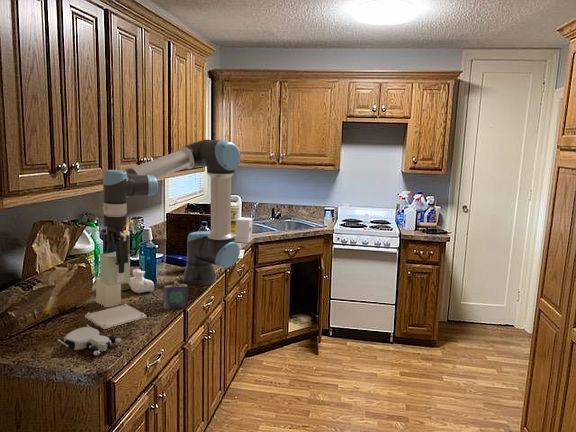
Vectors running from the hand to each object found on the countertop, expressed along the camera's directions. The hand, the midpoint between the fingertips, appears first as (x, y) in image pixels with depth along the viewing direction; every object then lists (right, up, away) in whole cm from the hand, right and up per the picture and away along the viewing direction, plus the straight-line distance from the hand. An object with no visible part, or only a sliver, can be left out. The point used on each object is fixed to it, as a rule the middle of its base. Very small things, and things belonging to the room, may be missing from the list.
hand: (115, 278), depth 162 cm
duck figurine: (-1, -10, +31) cm, 32 cm away
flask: (+18, -14, +16) cm, 27 cm away
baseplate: (-1, -15, +3) cm, 15 cm away
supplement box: (+33, +6, +131) cm, 135 cm away
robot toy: (0, -19, -20) cm, 28 cm away
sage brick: (0, -1, 0) cm, 1 cm away
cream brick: (-9, -12, +16) cm, 22 cm away
